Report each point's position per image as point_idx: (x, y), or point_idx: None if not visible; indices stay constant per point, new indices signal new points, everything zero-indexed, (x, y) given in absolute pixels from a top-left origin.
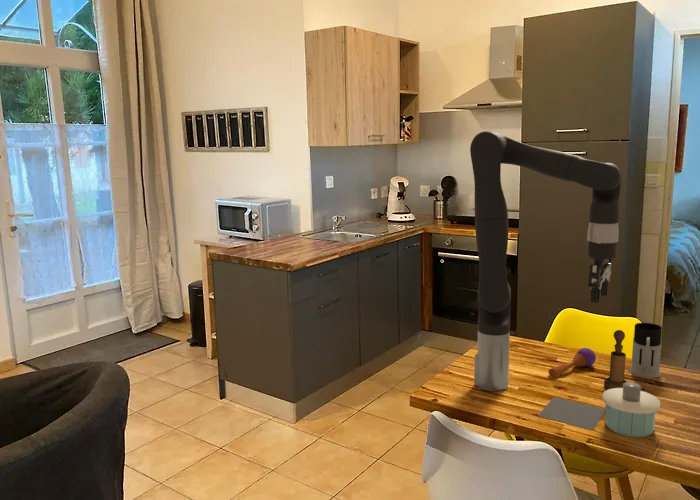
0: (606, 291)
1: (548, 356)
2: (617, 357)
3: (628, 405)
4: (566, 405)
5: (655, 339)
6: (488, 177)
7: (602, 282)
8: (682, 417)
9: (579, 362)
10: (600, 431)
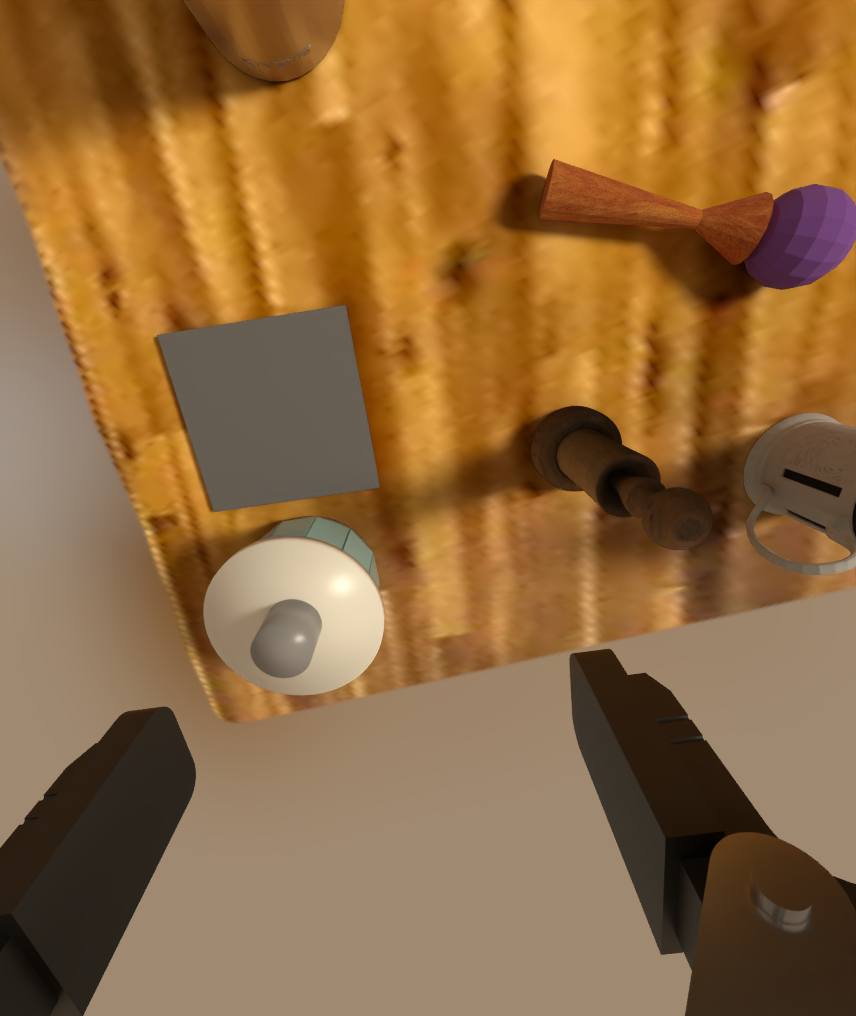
0: (595, 775)
1: (810, 23)
2: (592, 491)
3: (235, 634)
4: (310, 376)
5: None
6: None
7: (658, 879)
8: (484, 645)
9: (714, 244)
10: (237, 523)
